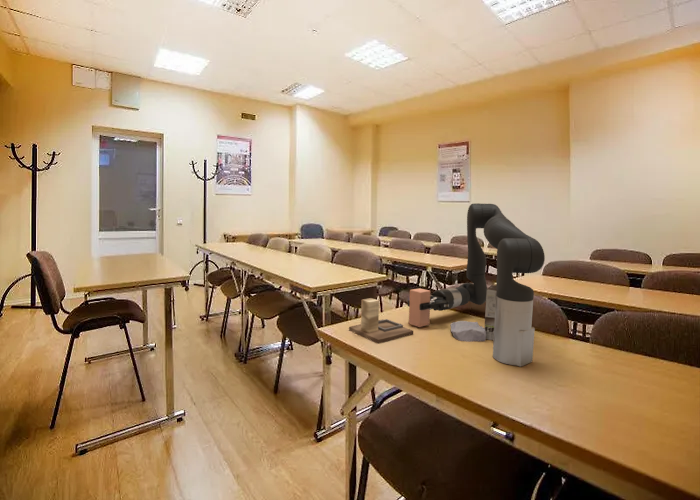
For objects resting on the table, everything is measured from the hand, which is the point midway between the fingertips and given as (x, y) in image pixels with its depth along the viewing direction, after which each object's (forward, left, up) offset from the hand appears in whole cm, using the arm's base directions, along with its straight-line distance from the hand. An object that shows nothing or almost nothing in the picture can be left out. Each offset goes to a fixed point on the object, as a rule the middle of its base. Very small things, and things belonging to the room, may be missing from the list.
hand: (414, 305), depth 129 cm
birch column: (+3, +17, -6) cm, 19 cm away
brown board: (+2, +13, -8) cm, 15 cm away
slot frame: (+3, +10, -6) cm, 13 cm away
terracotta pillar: (0, -3, -7) cm, 7 cm away
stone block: (-16, -8, -8) cm, 19 cm away
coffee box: (-22, -15, -8) cm, 28 cm away
